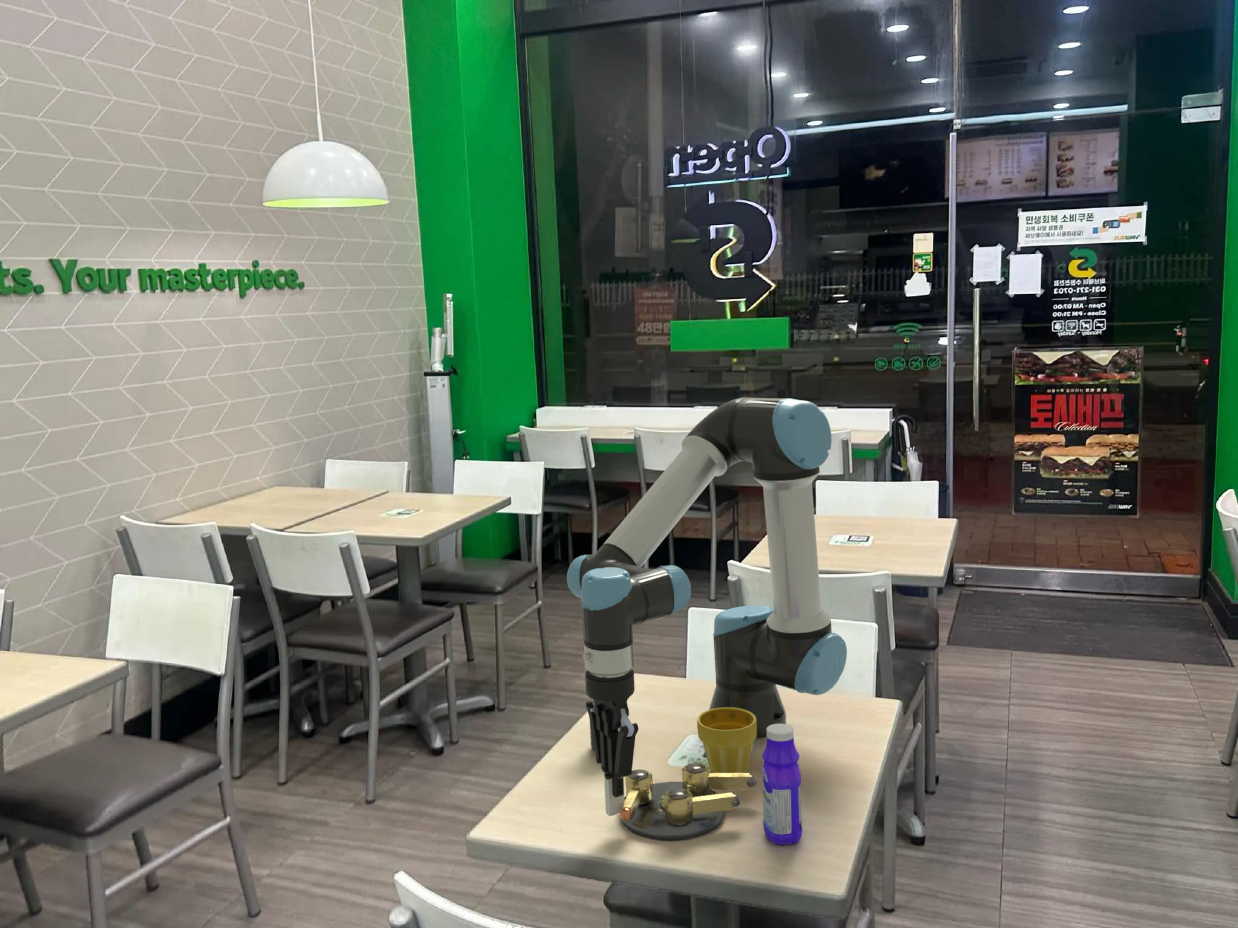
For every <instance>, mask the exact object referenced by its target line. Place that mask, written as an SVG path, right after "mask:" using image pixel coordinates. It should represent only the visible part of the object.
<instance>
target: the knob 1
mask: <svg viewBox="0 0 1238 928" xmlns="http://www.w3.org/2000/svg"><path fill="white" fill-rule="evenodd" d="M624 778H625V796H626V800H625V802H624V804H623V805H622V810H621V811H620V813H619V818H621V819H622V820H623V821H631V820H632V818H633V816H634V814H635V812H636V810H637V808H638V806H639V804H640V803H645V802H648V801H650V800H651V799H652V798H653V784H654V783H653V774H652V772H650V771H648V770H645V769H641V768H640V769H637V768H636V769H632V774H631V775H629V776H626V777H624ZM621 819H620V820H621Z"/></svg>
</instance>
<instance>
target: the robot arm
mask: <svg viewBox="0 0 1238 928" xmlns="http://www.w3.org/2000/svg"><path fill="white" fill-rule="evenodd" d="M830 426H831V425H830V423H829V420H828V418H827V416H826V414H825V413H824V412H823V410H822V409H820V408H819V407H818V406H817V404H815V403H814V402H811V401H808V400H801V399H795V398H779V397H778V398H776V397H775V398H774V397H772V398H768V397H750V396H749V397H746V396H745V397H739V398H735V399H732V400H729V401H727V402H725V403H723V404H721V405H720V406H718V407H717V408H715V409H713V411H711V412H710V413H709V414H707V415H706V416H705V417H704V418H702V419H701V420H700V421H699V422H698V423H697V424H696V425H695V426H694V427H693V428H692V429H691V430H690V432H689V433H688V434H687V435H686V436H685V437H684V439H683V440H682V442H681V450H680V452H679V453H678V454H677V456H675V458H674V459H673V460H672V462H671V463H670V464H669V465H668V466H667V467H666V468H665V470H664V471H663V472H662V473H661V475H660V476H658V478H657V479H656V480H655V481H654V483H653V484H652V485H651V486H650V488H649V489H647V491H646V492H645V493H644V494H643V496H642V497H641V498H640V499H639V500H638V502H637V503H636V504H635V505H634V507H633V508H632V509H631V510H630V512H629V513H628V514H627V515H626V516H625V518H624V519H623V520H622V521H621V523H620V524H619V525H618V526H617V527H616V528H615V530H614V531H613V532H612V533H611V534H610V535H609V537H608V538H607V539H606V540H605V542H604V543H603V544H602V545H601V546H600V547H599V549H598V550H597V551H596V552H595V553H594V554H584V555H579V556H578V557H576V558H574V559H573V560H572V562H571V563H570V565H569V567H568V570H567V573H566V584H567V587H568V589H569V590H570V592H571V594H573V595H574V596H576V597H577V598H579V599H580V604H581V605H580V606H581V617H582V634H583V644H584V645H583V648H584V650H583V652H584V653H583V654H582V658H583V660H584V668H585V669H586V671H585V674H584V678H585V693H586V695H587V696H588V698H590V699H591V700H589V701H586V702H585V707H586V711H587V714H588V718H589V726H590V725H591V732H592V738H593V745H594V751H595V752H594V751H593V752H594V755H595V756H594V757H595V762H596V764H597V765H601V771H602V773H603V778H604V779H603V780H604V800H605V801H604V803H605V814H606V815H608V816H609V817H612V816H615V815H618V814H619V815H620V811H621V810H622V805H623V804H624V797H625V786H624V785H625V783H624V778H625V777H626V776H629V775H631V774H632V771H633V763H634V755H635V745H636V736H637V734H638V732H639V725H638V723H637V722H634V723H632V722H631V720H630V718H629V716H630V709H629V706H628V705H629V704H628V701H629V698H630V697H632V695H634V693H635V671H634V670H633V667H634V666H635V664H634V639H633V638H634V636H633V635H634V631H633V630H634V628H633V626H638V625H640V624H643V623H646V622H649V621H653V620H656V619H658V618H662V617H667V616H671V615H672V614H674V613H676V612H678V611H681V610H683V609H684V608H685V607H687V606H688V604H689V603H690V600H691V598H692V597H691V596H692V589H691V587H692V585H691V582H690V579H689V577H688V575H687V574H686V572H684V570H683V569H682V568H681V567H679V566H677V565H673V564H672V565H671V564H669V565H660V566H658V567H657V568H648V567H645V566H644V567H643V565H645V563H646V562H647V561H648V560H649V559H650V557H651V556H652V554H653V553H654V552H655V551H656V550H657V548H658V547H659V546H660V545H661V544H662V542H663V541H664V540H665V538H666V537H667V536H668V535H669V534H670V533H671V531H672V530H673V528H675V526H676V525H677V523H679V521H680V520H681V519H682V517H683V516H684V515H685V514H686V512H687V511H688V510H689V509H690V507H691V506H692V505H693V503H695V502H696V500H697V499H698V497H699V496H700V495H701V494H702V493H703V492H704V490H705V489H706V488H707V486H708V485H709V484H710V483H711V482H712V480H713V479H714V478H715V477H720V476H723V475H724V474H725V473H726V472H727V471H728V469H729V468H731V466H733V465H735V464H737V463H741V462H746V463H751V464H752V471H753V472H752V474H753V479H754V480H755V481H756V482H758V483H759V484H760V485H761V486H762V489H763V501H764V513H765V522H766V526H765V527H766V535H767V546H768V557H769V559H768V560H769V571H770V580H771V593H772V605H773V607H771V606H767V605H762V604H761V605H758V604H757V605H754V604H753V605H752V604H751V605H744V606H742V605H741V606H737V607H731V608H729V609H725V610H723V611H720V612H719V613H718V614H717V615H716V616H715V618H714V623H713V633H712V636H713V647H714V648H713V649H714V651H713V653H714V668H715V669H714V670H715V671H714V673H715V688H714V691H713V695H712V698H711V701H710V705H709V708H708V710H711V709H715V708H723V707H732V708H740V709H744V710H747V711H749V712H751V713H753V714H754V715H755V717H756V720H757V736H756V739H760V738H767V727H768V726H770V725H772V724H786V725H787V713H786V710H785V707H784V704H783V702H782V701H783V700H782V698H781V696H780V693H779V690H778V687H777V686H779V687H780V686H781V687H784V688H786V689H790V690H794V691H796V692H797V693H800V694H809V695H814V696H819V695H820V696H821V695H824V694H826V693H827V692H829V691H830V690H832V689H833V688H834V686H835V685H836V684H837V683H838V682H839V680H840V678H841V676H842V675H843V672H844V669H845V666H846V663H847V657H848V656H847V655H848V649H847V644H846V640H845V639H843V638H842V636H841V635H839V634H838V633H836V632H833V631H832V630H833V629H832V619H831V616H830V614H829V613H828V612H826V611H825V610H824V609H822V600H821V598H822V597H821V585H820V584H821V583H820V573H819V572H820V571H819V561H818V545H817V534H816V522H815V521H816V520H815V510H814V509H815V508H814V495H813V493H814V492H813V485H812V484H813V481H814V480H815V479H816V478H817V476H819V474H820V473H821V471H820V467H821V466H822V465H824V463H825V462H826V461H827V460H828V458H829V455H830V453H829V451H830V450H831V449H832V448H831V447H832V430H831V427H830Z"/></svg>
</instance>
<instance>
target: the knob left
mask: <svg viewBox="0 0 1238 928" xmlns="http://www.w3.org/2000/svg"><path fill="white" fill-rule="evenodd" d="M681 771H682V775H681V776H682V782H683V789H686V790H688V791H690V792H691V793H692V796H701V795H705V794H707V793H708V792H709V791H710V789H712V790H750V789H751V788H755V787H756V786H757V784H758V779H757V777H756V776H755V775H753V774H750V772H746V773H711V772H710V769H709V766H707V765H706V764H703V763H701V762H691V763H688V764H686V765H684V766H682V769H681Z"/></svg>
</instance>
